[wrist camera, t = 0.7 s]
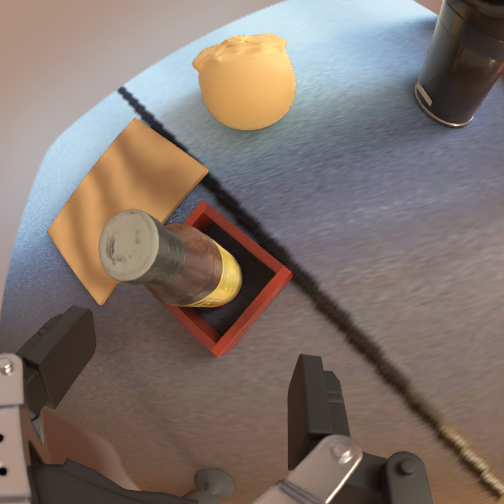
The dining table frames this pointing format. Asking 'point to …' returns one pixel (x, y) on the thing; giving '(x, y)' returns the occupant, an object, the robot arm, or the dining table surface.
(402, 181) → the dining table surface
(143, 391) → the dining table surface
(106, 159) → the mat
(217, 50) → the tan rounded lump
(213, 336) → the holder
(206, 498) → the sundae
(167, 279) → the sauce bottle
